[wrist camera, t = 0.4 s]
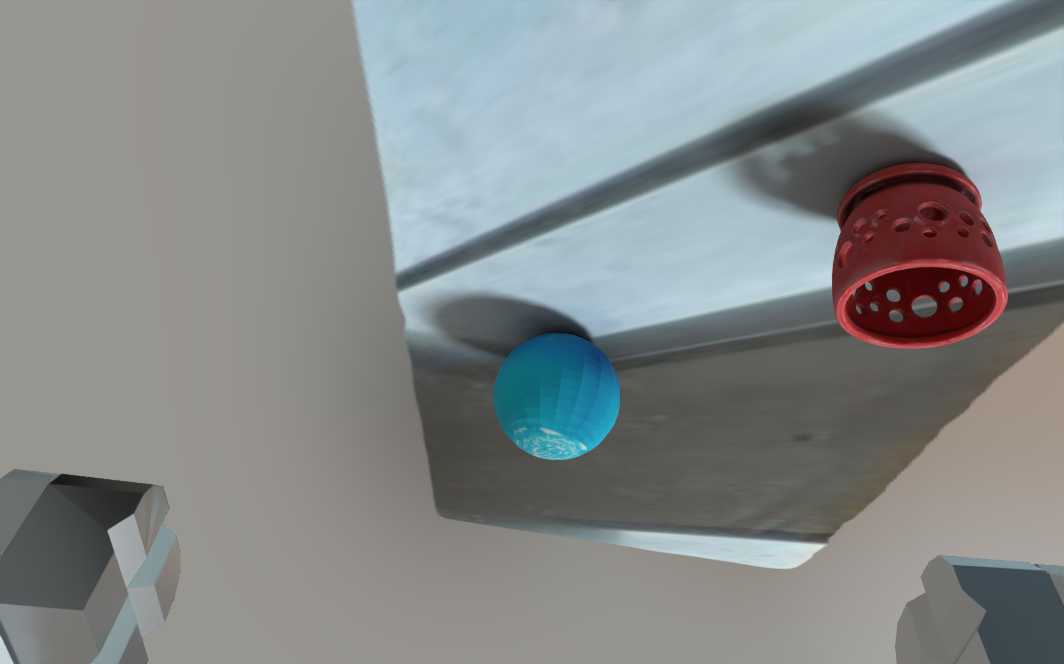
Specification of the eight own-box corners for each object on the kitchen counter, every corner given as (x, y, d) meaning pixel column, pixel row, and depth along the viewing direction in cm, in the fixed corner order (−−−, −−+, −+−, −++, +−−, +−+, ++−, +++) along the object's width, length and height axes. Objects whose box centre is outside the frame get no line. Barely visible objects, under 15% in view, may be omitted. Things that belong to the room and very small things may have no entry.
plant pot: (969, 241, 85) (981, 356, 79) (821, 235, 87) (822, 345, 82) (1015, 146, 74) (1032, 271, 68) (843, 142, 76) (846, 262, 70)
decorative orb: (652, 348, 111) (641, 464, 104) (569, 380, 122) (554, 487, 115) (559, 294, 104) (541, 415, 96) (480, 333, 114) (457, 445, 107)
